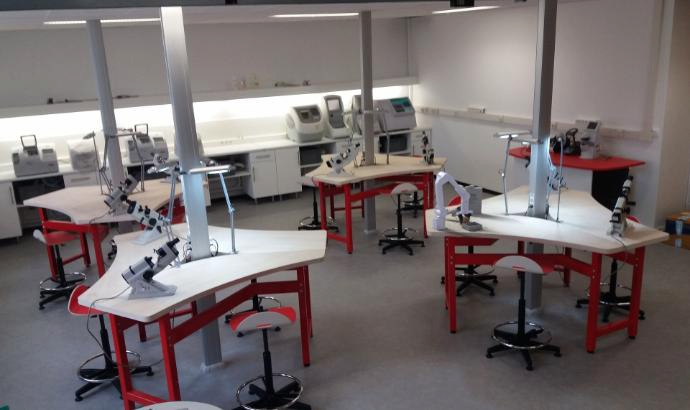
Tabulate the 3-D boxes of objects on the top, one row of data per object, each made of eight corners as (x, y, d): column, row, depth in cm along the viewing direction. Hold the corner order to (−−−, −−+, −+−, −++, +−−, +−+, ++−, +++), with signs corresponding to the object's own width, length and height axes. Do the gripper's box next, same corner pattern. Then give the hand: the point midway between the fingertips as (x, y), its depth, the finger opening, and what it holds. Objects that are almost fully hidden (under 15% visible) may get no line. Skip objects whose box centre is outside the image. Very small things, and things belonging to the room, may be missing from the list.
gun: (470, 221, 458) (463, 204, 457) (440, 230, 472) (433, 213, 472) (471, 220, 463) (465, 202, 462) (442, 228, 477) (436, 212, 476)
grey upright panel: (461, 214, 482) (462, 185, 476) (460, 213, 487) (461, 184, 481) (482, 214, 482) (483, 185, 476) (480, 212, 487) (481, 184, 481)
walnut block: (463, 226, 450) (463, 218, 448) (459, 224, 454) (459, 217, 453) (468, 225, 451) (468, 218, 450) (465, 223, 456) (465, 216, 454)
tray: (469, 231, 436) (469, 226, 435) (461, 227, 445) (461, 223, 444) (482, 229, 440) (482, 224, 439) (474, 225, 449) (475, 221, 449)
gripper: (459, 208, 443) (459, 225, 446) (475, 206, 448) (474, 223, 451) (454, 206, 449) (454, 223, 452) (470, 204, 454) (469, 220, 458)
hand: (464, 222), depth 452 cm, fingers closed on walnut block, 5 cm apart
